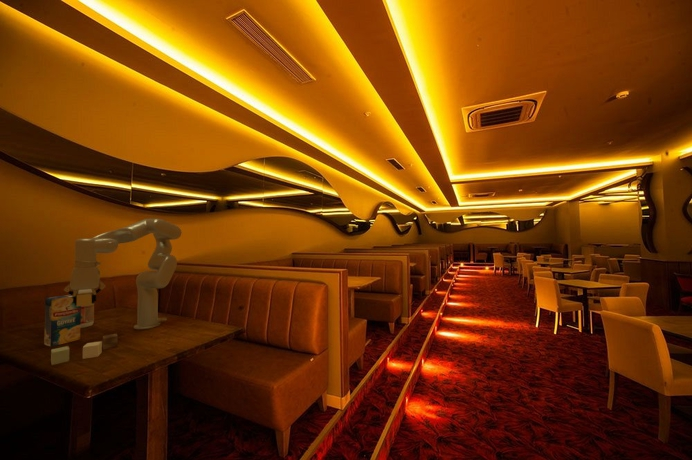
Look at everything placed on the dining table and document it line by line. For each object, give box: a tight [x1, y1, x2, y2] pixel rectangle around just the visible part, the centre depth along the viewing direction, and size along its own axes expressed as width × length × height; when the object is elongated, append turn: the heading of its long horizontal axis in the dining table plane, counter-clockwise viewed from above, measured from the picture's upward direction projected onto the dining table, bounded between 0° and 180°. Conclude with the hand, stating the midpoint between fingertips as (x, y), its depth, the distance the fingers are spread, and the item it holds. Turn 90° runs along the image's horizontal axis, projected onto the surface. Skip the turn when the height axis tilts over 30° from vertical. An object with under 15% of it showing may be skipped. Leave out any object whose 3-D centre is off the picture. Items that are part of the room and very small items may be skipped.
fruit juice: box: [72, 289, 95, 329], centre depth 164 cm, size 9×9×28 cm
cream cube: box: [82, 340, 103, 360], centre depth 122 cm, size 5×5×5 cm
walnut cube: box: [102, 332, 119, 350], centre depth 132 cm, size 5×5×5 cm
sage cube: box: [50, 345, 70, 366], centre depth 117 cm, size 5×5×5 cm
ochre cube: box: [77, 293, 93, 306], centre depth 132 cm, size 5×5×5 cm
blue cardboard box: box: [43, 294, 81, 347], centre depth 139 cm, size 7×11×22 cm, turn 155°
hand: (85, 303), depth 132 cm, fingers closed on ochre cube, 5 cm apart
